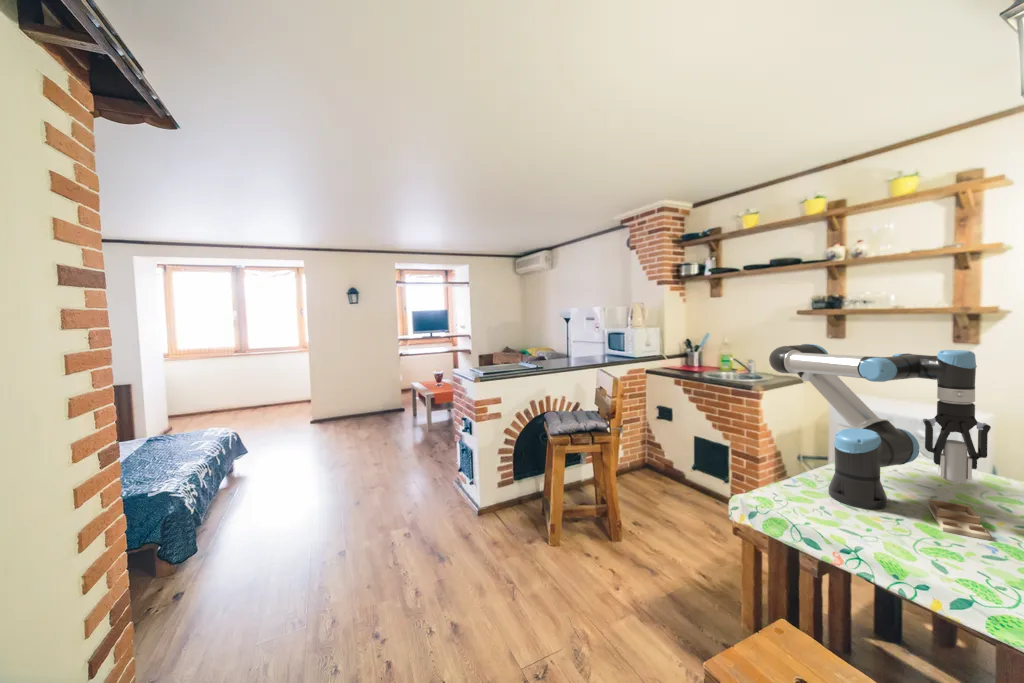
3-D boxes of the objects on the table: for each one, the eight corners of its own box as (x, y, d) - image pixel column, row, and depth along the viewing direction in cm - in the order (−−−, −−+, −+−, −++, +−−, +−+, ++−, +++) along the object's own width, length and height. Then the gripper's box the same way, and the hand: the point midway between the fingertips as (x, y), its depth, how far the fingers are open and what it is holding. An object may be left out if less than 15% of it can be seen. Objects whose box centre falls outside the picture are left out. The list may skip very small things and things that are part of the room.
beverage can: (971, 484, 114) (972, 444, 114) (952, 483, 115) (952, 444, 115) (956, 477, 119) (957, 439, 118) (938, 477, 120) (938, 439, 119)
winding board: (942, 531, 112) (943, 520, 112) (927, 507, 125) (927, 498, 124) (990, 540, 106) (990, 529, 106) (969, 514, 119) (969, 504, 119)
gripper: (916, 401, 118) (915, 475, 119) (1007, 406, 107) (1005, 487, 109) (910, 396, 124) (909, 467, 125) (996, 401, 113) (994, 478, 115)
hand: (954, 476), depth 117 cm, fingers closed on beverage can, 5 cm apart
